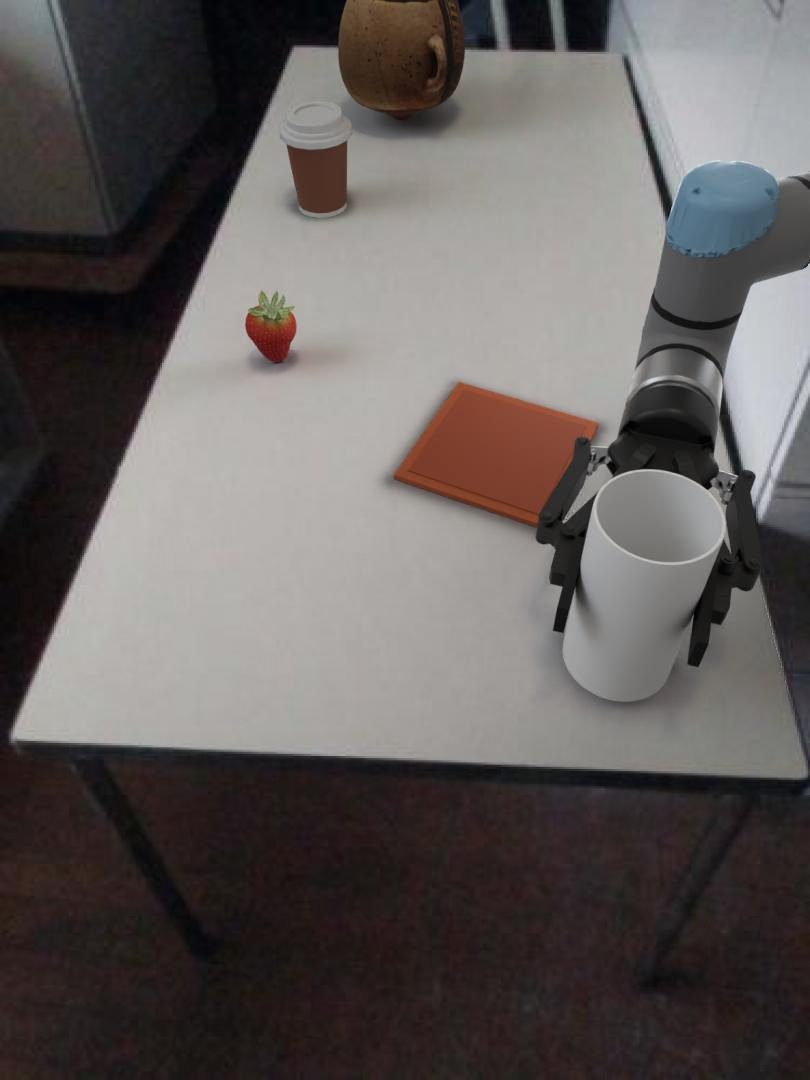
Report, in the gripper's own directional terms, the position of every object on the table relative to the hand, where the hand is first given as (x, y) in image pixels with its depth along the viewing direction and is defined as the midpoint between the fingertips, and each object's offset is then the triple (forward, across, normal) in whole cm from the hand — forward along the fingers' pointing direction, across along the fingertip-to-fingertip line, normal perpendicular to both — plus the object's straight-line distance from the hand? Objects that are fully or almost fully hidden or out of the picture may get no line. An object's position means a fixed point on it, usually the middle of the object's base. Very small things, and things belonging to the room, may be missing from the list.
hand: (627, 637), depth 56 cm
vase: (-92, +46, -10) cm, 104 cm away
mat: (-25, +14, -10) cm, 31 cm away
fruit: (-32, +41, -10) cm, 53 cm away
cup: (-5, 0, -9) cm, 10 cm away
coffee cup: (-64, +48, -10) cm, 81 cm away
